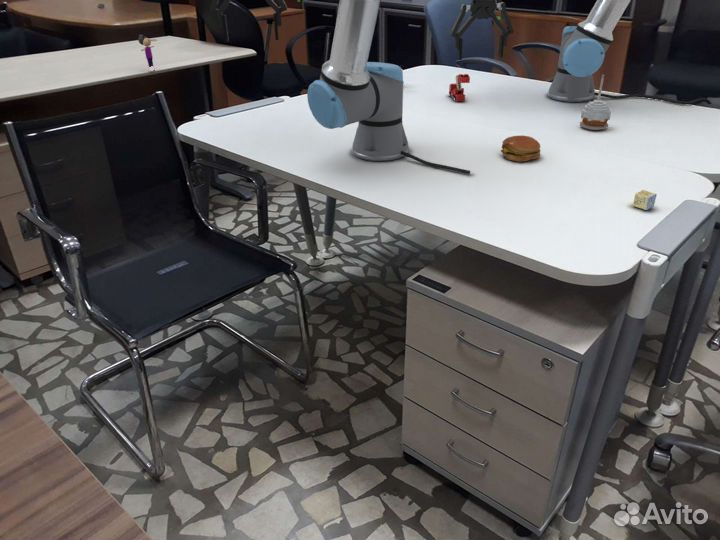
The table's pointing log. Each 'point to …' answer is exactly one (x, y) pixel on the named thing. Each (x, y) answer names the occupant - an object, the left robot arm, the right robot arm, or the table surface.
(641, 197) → the alphabet block
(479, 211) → the table surface
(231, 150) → the table surface
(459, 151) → the table surface
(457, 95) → the toy fire truck
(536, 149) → the burger
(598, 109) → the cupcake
